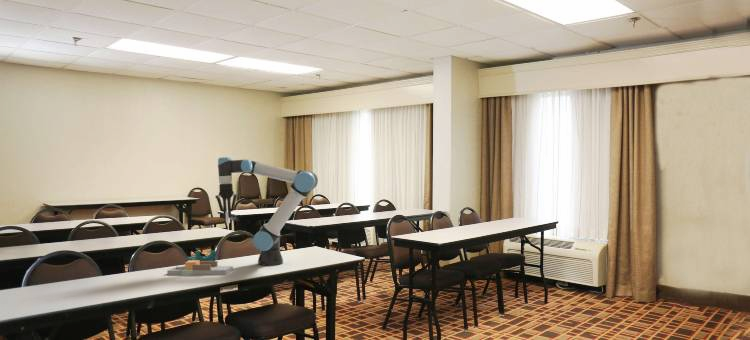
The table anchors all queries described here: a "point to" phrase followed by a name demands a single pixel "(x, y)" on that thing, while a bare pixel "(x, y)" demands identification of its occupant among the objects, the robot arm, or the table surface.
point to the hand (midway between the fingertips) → (228, 223)
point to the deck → (201, 269)
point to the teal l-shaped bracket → (203, 258)
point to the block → (191, 263)
